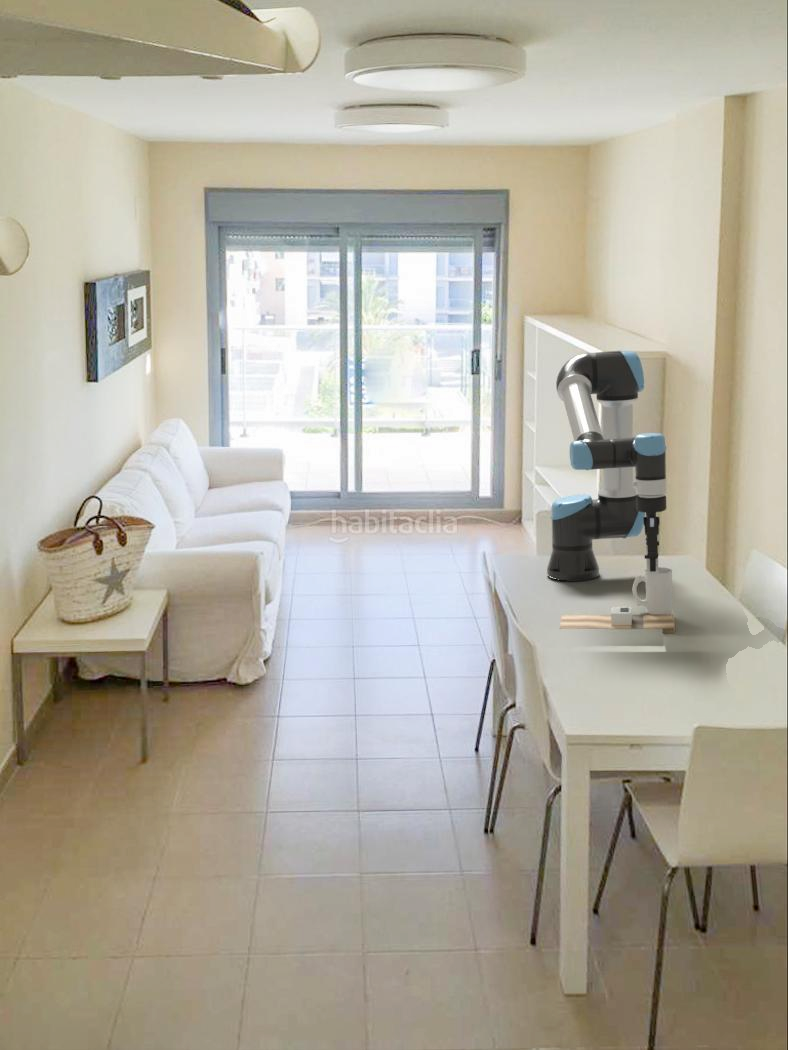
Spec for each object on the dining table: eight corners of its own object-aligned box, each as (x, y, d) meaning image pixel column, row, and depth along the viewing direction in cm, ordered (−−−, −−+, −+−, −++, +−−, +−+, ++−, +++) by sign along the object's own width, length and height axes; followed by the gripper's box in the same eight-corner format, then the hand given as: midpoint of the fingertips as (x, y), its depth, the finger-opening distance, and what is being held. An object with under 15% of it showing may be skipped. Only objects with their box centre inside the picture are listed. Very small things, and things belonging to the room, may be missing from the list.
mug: (671, 611, 324) (670, 566, 322) (674, 619, 318) (673, 573, 315) (631, 612, 326) (630, 568, 323) (633, 620, 319) (633, 574, 317)
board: (562, 619, 323) (561, 615, 323) (673, 619, 318) (673, 614, 317) (559, 633, 311) (559, 628, 311) (674, 632, 306) (674, 628, 306)
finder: (611, 618, 317) (611, 606, 317) (631, 618, 316) (631, 606, 316) (611, 625, 311) (610, 613, 311) (631, 625, 310) (631, 612, 310)
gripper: (635, 487, 328) (637, 566, 332) (636, 504, 304) (637, 589, 308) (664, 486, 326) (666, 565, 330) (667, 503, 302) (669, 588, 306)
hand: (652, 577), depth 319 cm, fingers open, 13 cm apart
